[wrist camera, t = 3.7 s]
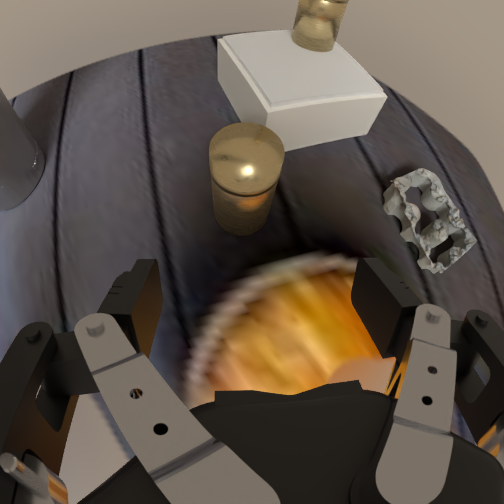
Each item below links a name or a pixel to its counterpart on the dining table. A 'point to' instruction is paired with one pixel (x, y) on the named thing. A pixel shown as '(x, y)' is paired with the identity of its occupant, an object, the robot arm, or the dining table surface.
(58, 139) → the dining table surface
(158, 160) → the dining table surface
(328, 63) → the scale
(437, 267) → the grey piece
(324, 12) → the cylinder
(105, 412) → the dining table surface
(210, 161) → the disc
